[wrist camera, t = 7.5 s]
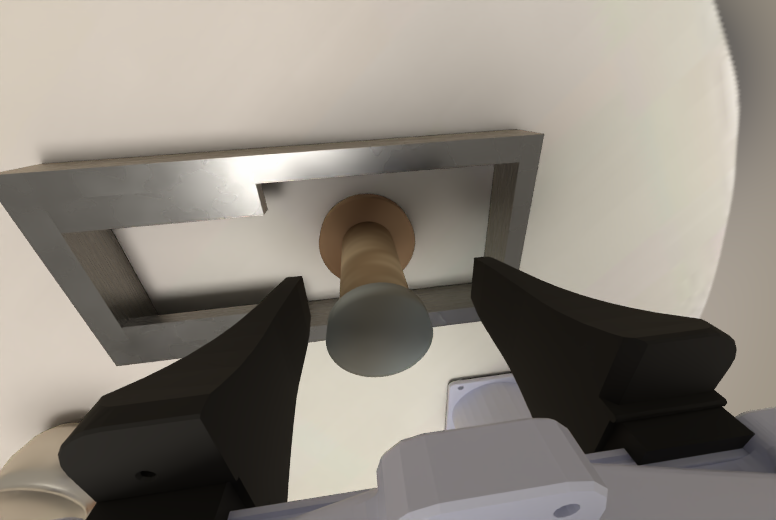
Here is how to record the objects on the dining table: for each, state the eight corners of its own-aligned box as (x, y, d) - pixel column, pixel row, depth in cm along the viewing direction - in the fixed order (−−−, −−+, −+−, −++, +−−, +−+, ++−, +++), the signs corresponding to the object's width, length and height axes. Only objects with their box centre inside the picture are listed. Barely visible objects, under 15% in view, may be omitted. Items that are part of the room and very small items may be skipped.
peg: (414, 192, 17) (467, 267, 9) (409, 275, 20) (448, 386, 12) (315, 194, 16) (287, 276, 9) (324, 279, 19) (308, 399, 11)
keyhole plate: (516, 129, 16) (544, 134, 14) (492, 294, 21) (510, 317, 19) (40, 163, 14) (-18, 176, 12) (143, 335, 19) (116, 366, 17)
